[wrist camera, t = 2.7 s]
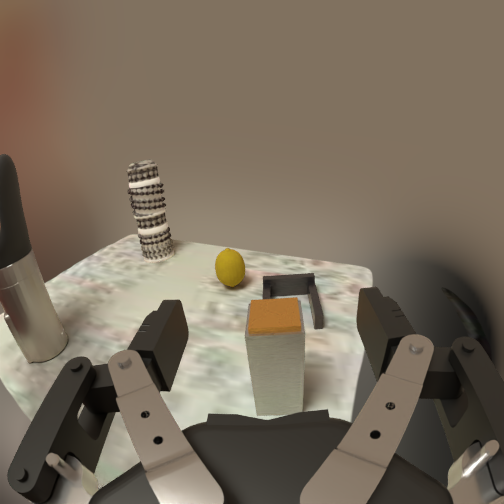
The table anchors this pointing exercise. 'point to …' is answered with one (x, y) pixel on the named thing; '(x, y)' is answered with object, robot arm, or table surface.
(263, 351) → the block
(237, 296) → the table surface
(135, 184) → the decorative candle
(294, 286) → the channel
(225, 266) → the lemon
